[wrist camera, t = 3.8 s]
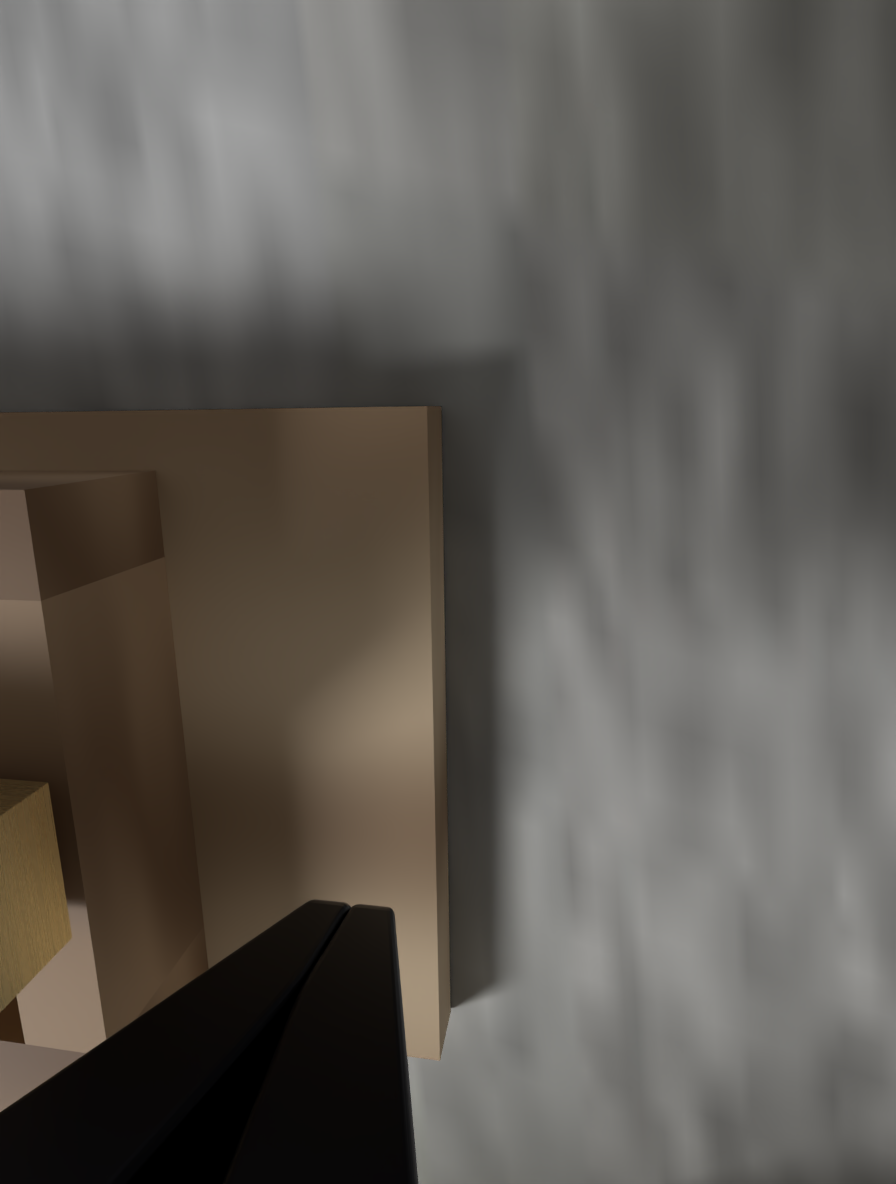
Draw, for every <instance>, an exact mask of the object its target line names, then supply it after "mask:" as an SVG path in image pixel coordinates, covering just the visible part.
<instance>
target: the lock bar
mask: <svg viewBox="0 0 896 1184" xmlns="http://www.w3.org/2000/svg"><path fill="white" fill-rule="evenodd" d="M71 938H72V933H71V926H70V920H69V914H68V907H67V901H66V894H65V888H64V881H63V875H62V869H61V862H60V856H59V849H58V843H57V837H56V830H55V824H54V817H53V811H52V804H51V798H50V792H49V785H48V782H36V781H23V780H11V779H0V1012H1V1011H2V1010H3V1009H4V1008H5V1007H6V1006H7V1005H8V1004H9V1003H10V1002H11V1001H12V1000H13V999H14V998H15V997H16V996H17V995H18V994H19V993H20V992H21V991H22V989H23V988H24V987H25V986H26V985H27V984H28V983H29V982H30V981H31V980H32V979H33V978H34V977H35V976H36V975H37V974H38V973H39V972H40V971H41V970H42V969H43V968H44V967H45V966H46V965H47V963H48V962H49V961H50V960H51V959H52V958H53V957H54V956H55V955H56V954H57V953H58V952H59V951H60V950H61V949H62V948H63V947H64V946H65V945H66V944H67V943H68V942H69V941H70V940H71Z"/></svg>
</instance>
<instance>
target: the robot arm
mask: <svg viewBox="0 0 896 1184" xmlns="http://www.w3.org/2000/svg"><path fill="white" fill-rule="evenodd" d="M0 1184H418V1175H417V1163H416V1152H415V1140H414V1129H413V1117H412V1106H411V1094H410V1083H409V1072H408V1060H407V1049H406V1037H405V1026H404V1014H403V1003H402V992H401V980H400V969H399V957H398V946H397V934H396V923H395V914H394V911H393V909H391V908H390V907H385V906H375V905H366V904H357V905H354V906H352V907H351V906H350V905H349V904H348V903H345V902H337V901H328V900H318V899H314V900H310V901H308V902H306V903H304V904H303V905H301V906H300V907H298V908H297V909H295V910H294V911H293V912H291V913H290V914H288V915H287V916H285V917H284V918H282V919H281V920H279V921H278V922H277V923H275V924H274V925H272V926H271V927H269V928H268V929H266V930H265V931H263V932H262V933H260V934H259V935H258V936H256V937H255V938H253V939H252V940H250V941H249V942H247V943H246V944H244V945H243V946H242V947H240V948H239V949H237V950H236V951H234V952H233V953H231V954H230V955H228V956H227V957H226V958H224V959H223V960H221V961H220V962H218V963H217V964H215V965H214V966H212V967H211V968H209V969H208V970H207V971H205V972H204V973H202V974H201V975H199V976H198V977H196V978H195V979H193V980H192V981H191V982H189V983H188V984H186V985H185V986H183V987H182V988H180V989H179V990H177V991H176V992H174V993H173V994H172V995H170V996H169V997H167V998H166V999H164V1000H163V1001H161V1002H160V1003H158V1004H157V1005H156V1006H154V1007H153V1008H151V1009H150V1010H148V1011H147V1012H145V1013H144V1014H142V1015H141V1016H140V1017H138V1018H137V1019H135V1020H134V1021H132V1022H131V1023H129V1024H128V1025H126V1026H125V1027H123V1028H122V1029H121V1030H119V1031H118V1032H116V1033H115V1034H113V1035H112V1036H110V1037H109V1038H107V1039H106V1040H105V1041H103V1042H102V1043H100V1044H99V1045H97V1046H96V1047H94V1048H93V1049H91V1050H90V1051H89V1052H87V1053H86V1054H84V1055H83V1056H81V1057H80V1058H78V1059H77V1060H75V1061H74V1062H72V1063H71V1064H70V1065H68V1066H67V1067H65V1068H64V1069H62V1070H61V1071H59V1072H58V1073H56V1074H55V1075H54V1076H52V1077H51V1078H49V1079H48V1080H46V1081H45V1082H43V1083H42V1084H40V1085H39V1086H38V1087H36V1088H35V1089H33V1090H32V1091H30V1092H29V1093H27V1094H26V1095H24V1096H23V1097H21V1098H20V1099H19V1100H17V1101H16V1102H14V1103H13V1104H11V1105H10V1106H8V1107H7V1108H5V1109H4V1110H3V1111H1V1112H0Z"/></svg>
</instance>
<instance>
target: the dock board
mask: <svg viewBox="0 0 896 1184" xmlns="http://www.w3.org/2000/svg"><path fill="white" fill-rule="evenodd" d="M0 779H11V780H23V781H36V782H48V785H49V792H50V798H51V804H52V811H53V817H54V824H55V830H56V837H57V843H58V849H59V856H60V862H61V869H62V875H63V881H64V888H65V894H66V901H67V907H68V914H69V920H70V926H71V933H72V938H71V940H70V941H69V942H68V943H67V944H66V945H65V946H64V947H63V948H62V949H61V950H60V951H59V952H58V953H57V954H56V955H55V956H54V957H53V958H52V959H51V960H50V961H49V962H48V963H47V965H46V966H45V967H44V968H43V969H42V970H41V971H40V972H39V973H38V974H37V975H36V976H35V977H34V978H33V979H32V980H31V981H30V982H29V983H28V984H27V985H26V986H25V987H24V988H23V989H22V991H21V992H20V993H19V994H18V995H17V996H16V997H15V998H14V999H13V1000H12V1001H11V1002H10V1003H9V1004H8V1005H7V1006H6V1007H5V1008H4V1009H3V1010H2V1011H1V1012H0V1112H1V1111H3V1110H4V1109H5V1108H7V1107H8V1106H10V1105H11V1104H13V1103H14V1102H16V1101H17V1100H19V1099H20V1098H21V1097H23V1096H24V1095H26V1094H27V1093H29V1092H30V1091H32V1090H33V1089H35V1088H36V1087H38V1086H39V1085H40V1084H42V1083H43V1082H45V1081H46V1080H48V1079H49V1078H51V1077H52V1076H54V1075H55V1074H56V1073H58V1072H59V1071H61V1070H62V1069H64V1068H65V1067H67V1066H68V1065H70V1064H71V1063H72V1062H74V1061H75V1060H77V1059H78V1058H80V1057H81V1056H83V1055H84V1054H86V1053H87V1052H89V1051H90V1050H91V1049H93V1048H94V1047H96V1046H97V1045H99V1044H100V1043H102V1042H103V1041H105V1040H106V1039H107V1038H109V1037H110V1036H112V1035H113V1034H115V1033H116V1032H118V1031H119V1030H121V1029H122V1028H123V1027H125V1026H126V1025H128V1024H129V1023H131V1022H132V1021H134V1020H135V1019H137V1018H138V1017H140V1016H141V1015H142V1014H144V1013H145V1012H147V1011H148V1010H150V1009H151V1008H153V1007H154V1006H156V1005H157V1004H158V1003H160V1002H161V1001H163V1000H164V999H166V998H167V997H169V996H170V995H172V994H173V993H174V992H176V991H177V990H179V989H180V988H182V987H183V986H185V985H186V984H188V983H189V982H191V981H192V980H193V979H195V978H196V977H198V976H199V975H201V974H202V973H204V972H205V971H207V970H208V969H209V968H211V967H212V966H214V965H215V964H217V963H218V962H220V961H221V960H223V959H224V958H226V957H227V956H228V955H230V954H231V953H233V952H234V951H236V950H237V949H239V948H240V947H242V946H243V945H244V944H246V943H247V942H249V941H250V940H252V939H253V938H255V937H256V936H258V935H259V934H260V933H262V932H263V931H265V930H266V929H268V928H269V927H271V926H272V925H274V924H275V923H277V922H278V921H279V920H281V919H282V918H284V917H285V916H287V915H288V914H290V913H291V912H293V911H294V910H295V909H297V908H298V907H300V906H301V905H303V904H304V903H306V902H308V901H310V900H314V899H318V900H328V901H337V902H345V903H348V904H349V905H350V906H351V907H352V906H354V905H357V904H366V905H375V906H385V907H390V908H391V909H393V911H394V914H395V923H396V934H397V946H398V957H399V969H400V980H401V992H402V1003H403V1014H404V1026H405V1037H406V1049H407V1056H409V1057H417V1058H424V1059H431V1060H439V1061H440V1058H441V1053H442V1049H443V1044H444V1039H445V1035H446V1030H447V1025H448V1021H449V1016H450V1012H451V1008H450V942H449V876H448V810H447V744H446V678H445V613H444V547H443V481H442V415H441V406H405V407H338V408H271V409H204V410H137V411H70V412H3V413H0Z"/></svg>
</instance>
